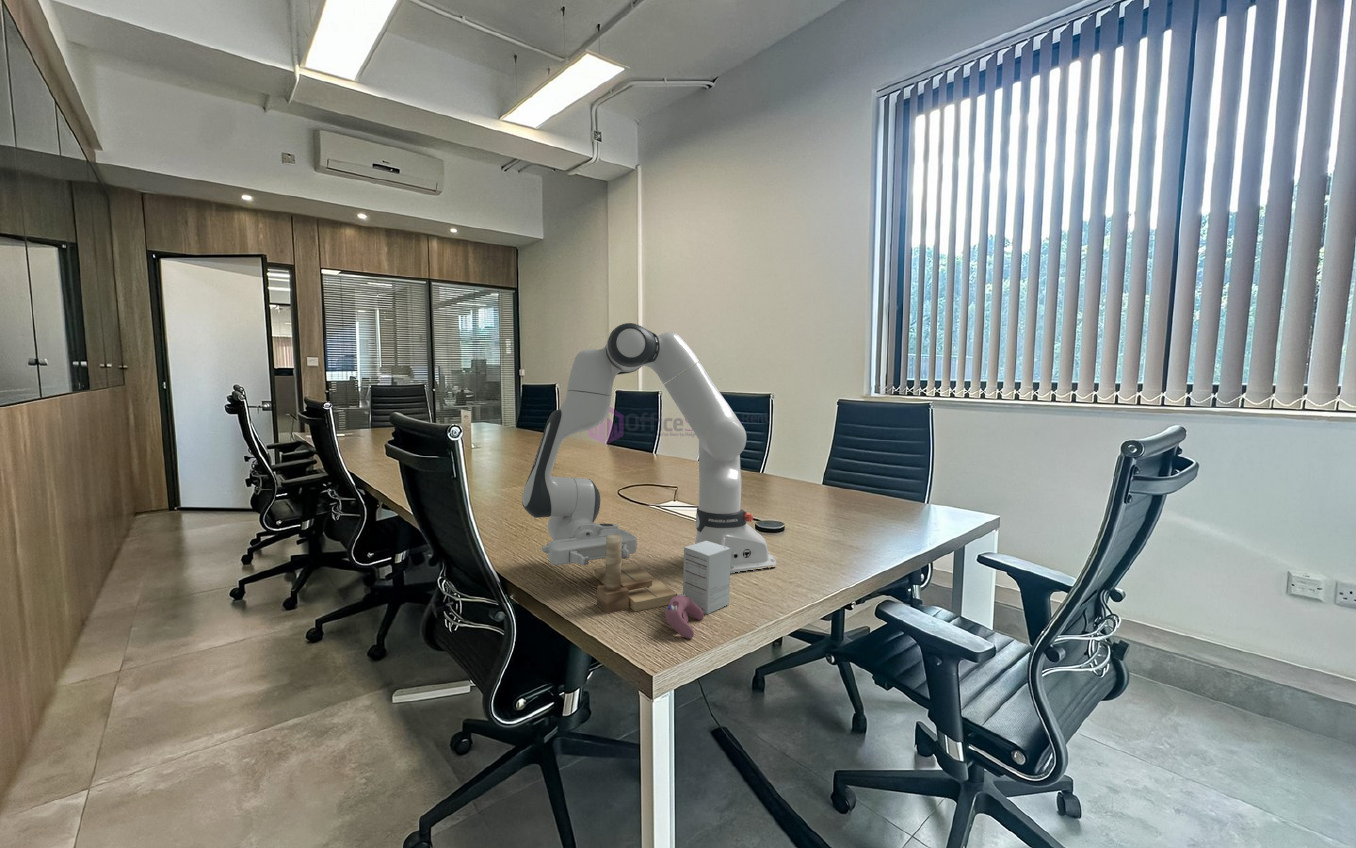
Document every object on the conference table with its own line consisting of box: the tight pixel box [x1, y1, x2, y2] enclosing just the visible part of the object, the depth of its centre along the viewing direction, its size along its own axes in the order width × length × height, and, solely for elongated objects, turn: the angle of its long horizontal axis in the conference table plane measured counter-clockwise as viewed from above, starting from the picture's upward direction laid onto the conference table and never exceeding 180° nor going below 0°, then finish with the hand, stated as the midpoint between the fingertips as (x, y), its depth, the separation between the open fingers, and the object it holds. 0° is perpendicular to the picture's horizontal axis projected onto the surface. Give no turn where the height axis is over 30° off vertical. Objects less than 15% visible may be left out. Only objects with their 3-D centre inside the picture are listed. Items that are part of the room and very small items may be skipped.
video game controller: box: [664, 593, 705, 640], centre depth 105 cm, size 10×5×7 cm, turn 164°
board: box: [594, 562, 678, 613], centre depth 124 cm, size 22×10×2 cm, turn 31°
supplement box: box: [682, 541, 731, 615], centre depth 116 cm, size 7×7×13 cm
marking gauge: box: [596, 535, 652, 615], centre depth 115 cm, size 11×5×15 cm, turn 121°
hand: (606, 558), depth 116 cm, fingers open, 8 cm apart
